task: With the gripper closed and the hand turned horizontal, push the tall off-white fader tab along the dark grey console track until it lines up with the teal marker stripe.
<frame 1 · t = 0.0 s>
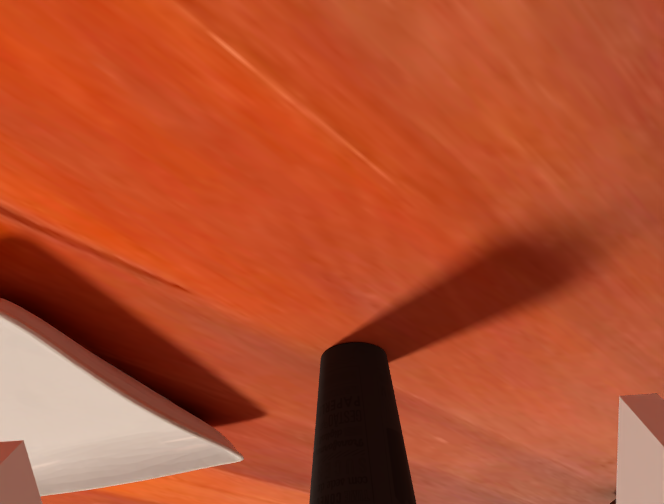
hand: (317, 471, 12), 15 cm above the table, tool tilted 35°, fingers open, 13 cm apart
square plate: (18, 390, 44), on the table
drinking cup: (353, 355, 41), on the table
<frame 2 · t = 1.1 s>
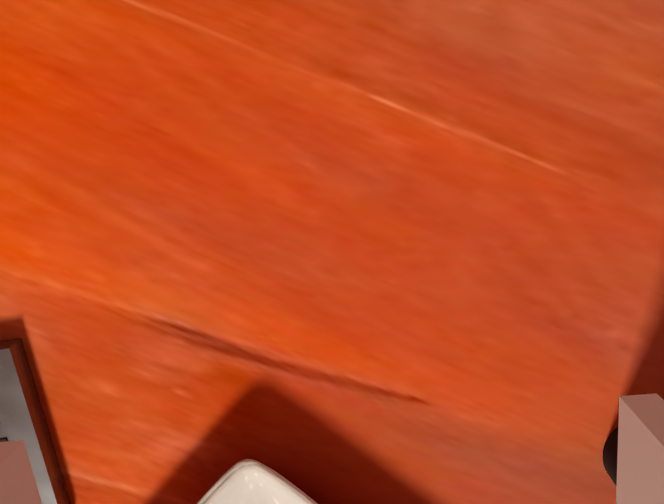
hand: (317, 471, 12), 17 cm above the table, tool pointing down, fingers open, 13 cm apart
drinking cup: (639, 448, 33), on the table
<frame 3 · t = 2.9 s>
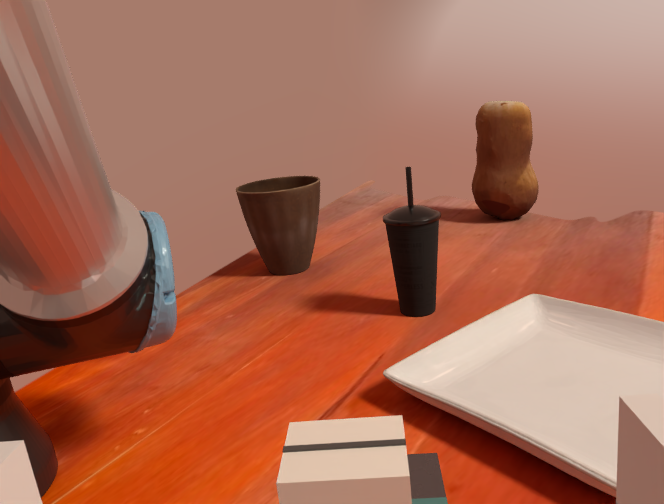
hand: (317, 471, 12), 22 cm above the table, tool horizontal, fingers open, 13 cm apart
butternut squash: (504, 218, 123), on the table
plant pot: (289, 270, 103), on the table
square plate: (578, 397, 54), on the table
drinking cup: (418, 311, 78), on the table
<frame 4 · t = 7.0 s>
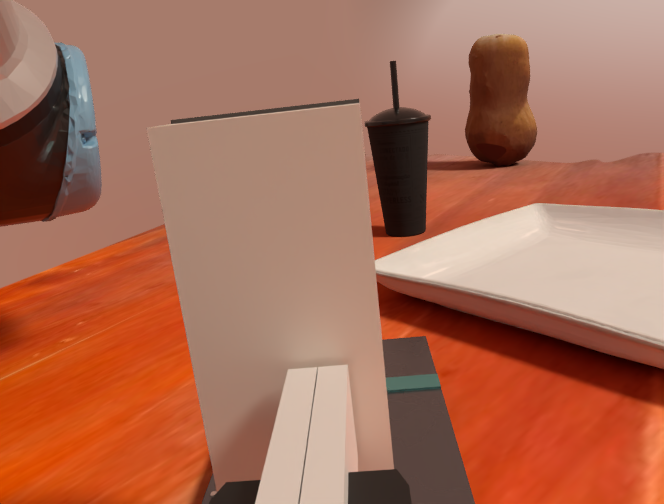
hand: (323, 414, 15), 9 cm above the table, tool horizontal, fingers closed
butternut squash: (501, 165, 114), on the table
square plate: (595, 291, 45), on the table
console: (337, 495, 24), on the table
drinking cup: (405, 233, 69), on the table
fader tab: (300, 367, 17), point 9 cm above the table, slide at 1.5 cm, touching gripper
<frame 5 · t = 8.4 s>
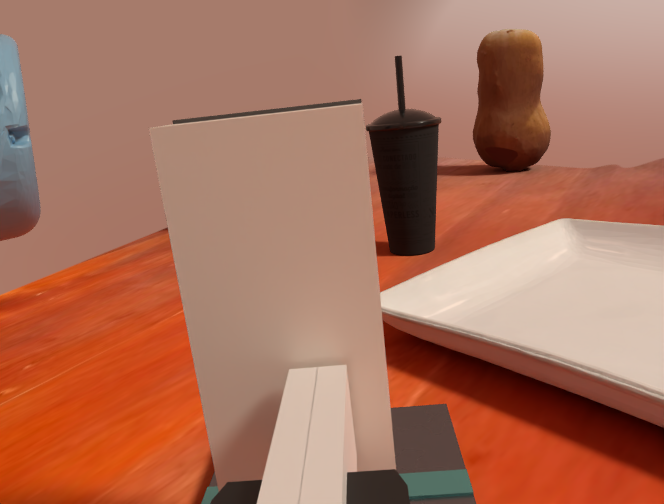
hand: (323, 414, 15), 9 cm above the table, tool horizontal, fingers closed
butternut squash: (511, 170, 106), on the table
square plate: (647, 333, 37), on the table
drinking cup: (412, 251, 61), on the table
fader tab: (301, 368, 17), point 9 cm above the table, slide at 9.8 cm
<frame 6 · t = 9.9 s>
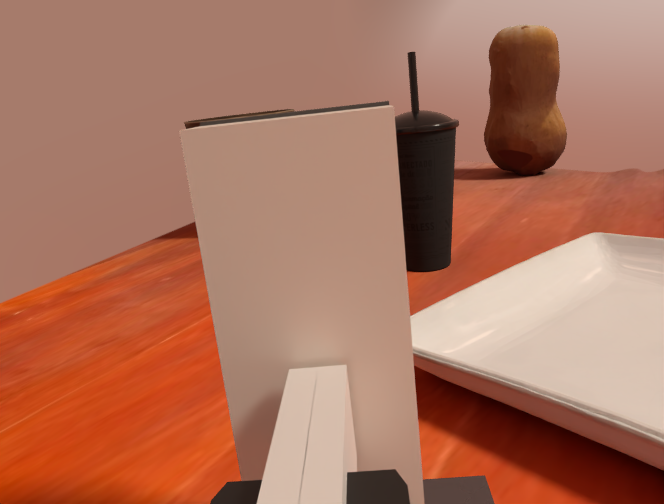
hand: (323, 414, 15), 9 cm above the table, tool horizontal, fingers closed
butternut squash: (524, 174, 100), on the table
plant pot: (256, 230, 80), on the table
drinking cup: (426, 266, 55), on the table
fader tab: (325, 369, 17), point 9 cm above the table, slide at 15.2 cm, touching gripper
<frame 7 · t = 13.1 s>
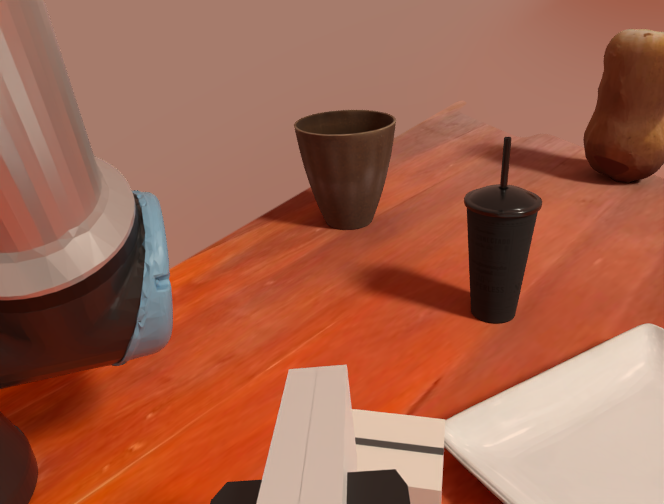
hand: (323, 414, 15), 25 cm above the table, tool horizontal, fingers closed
butternut squash: (619, 178, 100), on the table
plant pot: (348, 222, 89), on the table
drinking cup: (492, 313, 63), on the table
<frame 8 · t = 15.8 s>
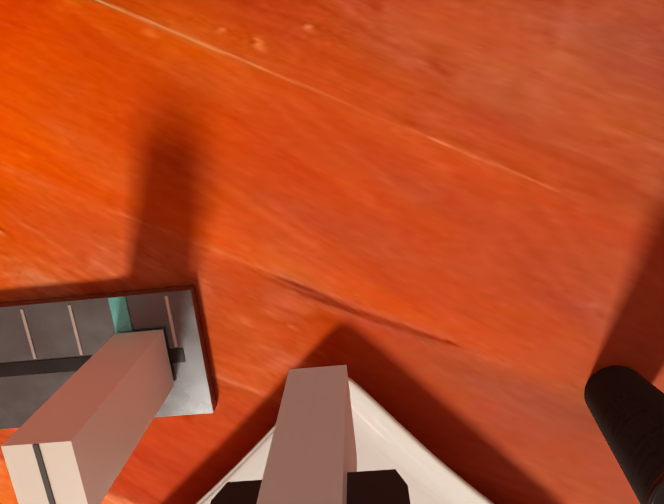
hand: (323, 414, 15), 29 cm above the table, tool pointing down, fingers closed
console: (56, 359, 47), on the table
drinking cup: (612, 390, 46), on the table
fader tab: (104, 409, 38), point 9 cm above the table, slide at 15.3 cm
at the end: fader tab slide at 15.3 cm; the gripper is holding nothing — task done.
